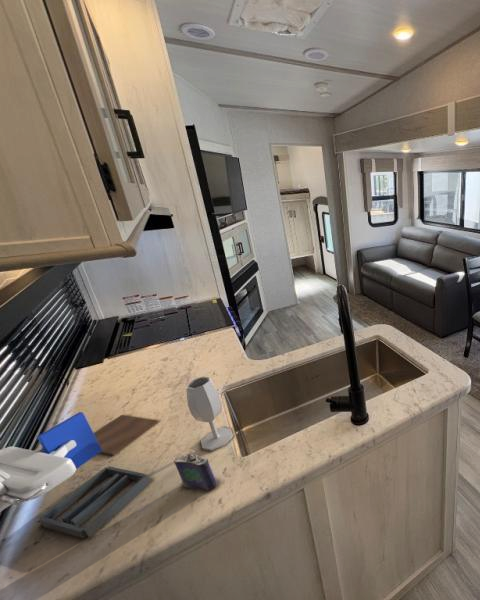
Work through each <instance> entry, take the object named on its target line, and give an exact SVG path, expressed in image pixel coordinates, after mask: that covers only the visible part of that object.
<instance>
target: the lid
mask: <svg viewBox="0 0 480 600" xmlns="http://www.w3.org/2000/svg"><path fill="white" fill-rule="evenodd" d="M94 433H95V432H93V429H92V427H91V425H90V424H89V421H88V419H87V417H86V415H85V414H84V412H82V411H79V412H77V413H76V414H74V415H71V416H70V417H69V418H66V419H65V420H63V421H61V422H59V423H57V424H56V425H54V426H53V427H51V428H50V429H48V430H45V431H44V432H42V433H40V434H39V435H37V436H36V439H37V440H38V442H39V444H40V445H41V446H40V447H43V449H44V451H45V452H46V454H50V453H51V452H53V451H57V450H58V449H59V448H60V447H61V444H62V443H64V442H66V441H67V440H74V441H75V442H76V444H77V445H76V446H75V447H74V448H73V449H71V450H70V451H68V453H67V454H66V455H65V456H64V457H65V458H69V459H71V460H72V462H73V463H74V465H75V467H76V470H77V469H79V468H81V467H82V466H83V465H84V464H86V463H87V462H89V461H90V460H92V459H93V458H94V457H96V456H97V455H99V454H101V453H100V452H101V451H102V449H101V447H100V445H99V443H98V441H97V439H96V437H95V435H94Z"/></svg>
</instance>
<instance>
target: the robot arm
mask: <svg viewBox="0 0 480 600" xmlns="http://www.w3.org/2000/svg"><path fill="white" fill-rule="evenodd" d="M76 445H77V444H76V442H75V441H74V440H67V441H66V442H64V443H62V444H61V447H60V448H59V449H58V450H57V451H53V452H51V453H50V454H46V452H45V451H44V449H43V447H42V446H40V447H37V448H36V449H34V450H31V449H26V448H22V447H17V446H8V447H5V448H1V449H0V513H1V512H3V511H4V510H5V509H7V508H8V507H10V506H16V505H18V504H21V503H24V502H29V501H32V500H35V499H37V498H40V497H41V496H43V495H45V494H47V493H48V492H50V491H51V490H53V489H54V488H56V487H58V486H59V485H60V484H62V483H64V482H65V481H67V480H68V479H69V478H71V477H72V476H74V474H75V473H76V471H77V469H76V467H75V465H74V463H73V462H72V460H71V459H69V458H65V457H64V456H65V455H66V454H67V453H68V451H70V450H71V449H73V448H74V447H75V446H76Z"/></svg>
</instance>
